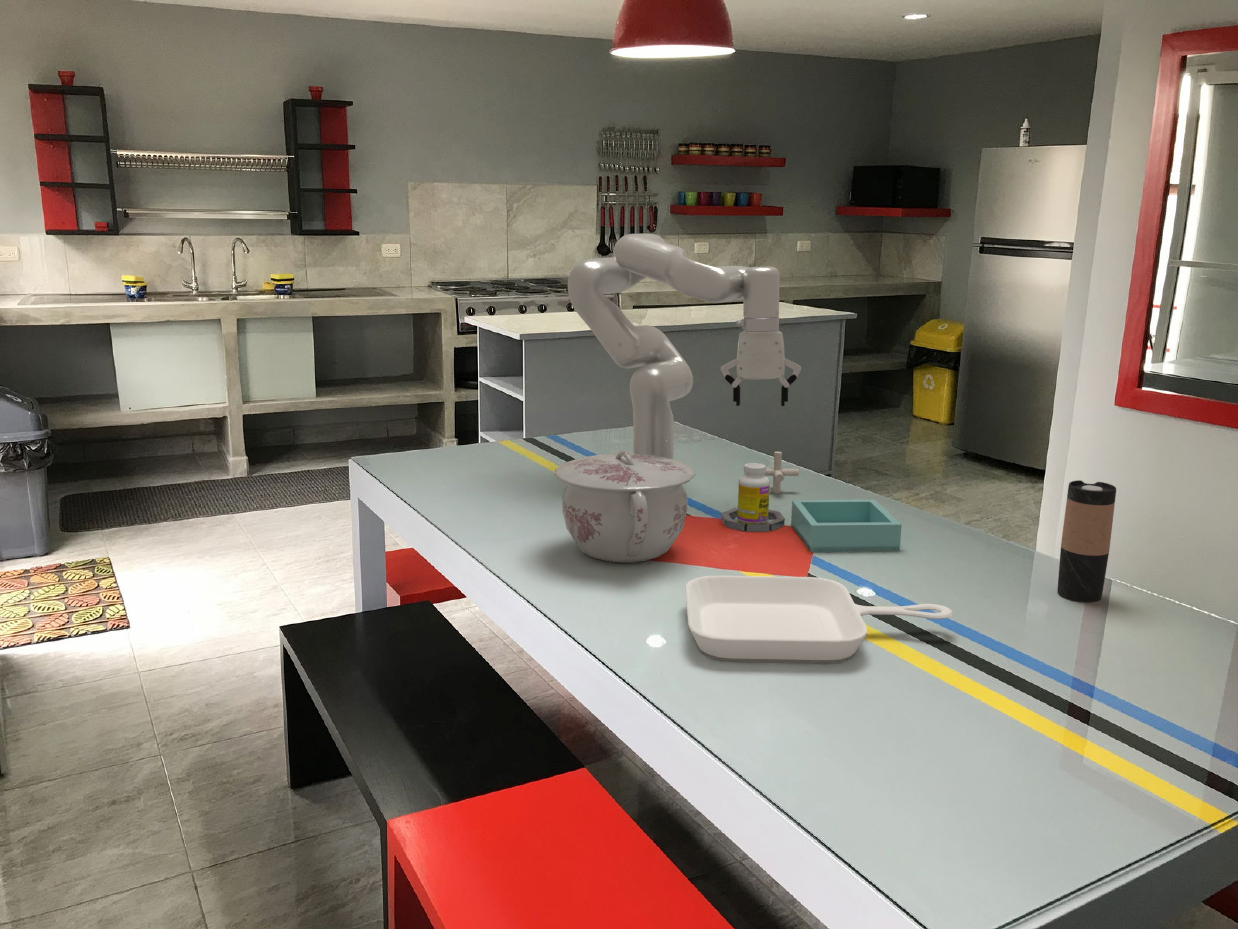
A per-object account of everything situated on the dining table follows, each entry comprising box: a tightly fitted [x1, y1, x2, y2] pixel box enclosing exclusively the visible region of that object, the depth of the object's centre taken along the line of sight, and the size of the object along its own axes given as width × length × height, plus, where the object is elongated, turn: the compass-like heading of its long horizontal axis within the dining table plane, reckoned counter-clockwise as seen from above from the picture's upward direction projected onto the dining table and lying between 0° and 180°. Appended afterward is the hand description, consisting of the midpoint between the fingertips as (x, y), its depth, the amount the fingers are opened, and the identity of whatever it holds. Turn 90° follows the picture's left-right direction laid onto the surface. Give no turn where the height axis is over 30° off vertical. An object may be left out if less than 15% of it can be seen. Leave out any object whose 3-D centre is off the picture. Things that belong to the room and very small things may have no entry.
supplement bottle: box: [736, 462, 771, 523], centre depth 216 cm, size 7×7×13 cm
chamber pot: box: [553, 449, 696, 564], centre depth 195 cm, size 28×28×21 cm
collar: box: [720, 507, 786, 533], centre depth 217 cm, size 13×13×2 cm
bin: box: [790, 499, 903, 553], centre depth 207 cm, size 18×18×6 cm
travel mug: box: [1057, 479, 1117, 604], centre depth 173 cm, size 8×8×20 cm
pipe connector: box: [764, 451, 800, 495], centre depth 240 cm, size 10×10×10 cm
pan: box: [684, 575, 954, 664], centre depth 160 cm, size 27×42×5 cm, turn 88°
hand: (760, 405), depth 217 cm, fingers open, 9 cm apart
